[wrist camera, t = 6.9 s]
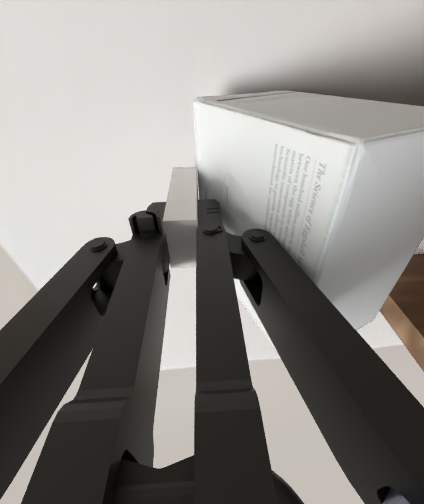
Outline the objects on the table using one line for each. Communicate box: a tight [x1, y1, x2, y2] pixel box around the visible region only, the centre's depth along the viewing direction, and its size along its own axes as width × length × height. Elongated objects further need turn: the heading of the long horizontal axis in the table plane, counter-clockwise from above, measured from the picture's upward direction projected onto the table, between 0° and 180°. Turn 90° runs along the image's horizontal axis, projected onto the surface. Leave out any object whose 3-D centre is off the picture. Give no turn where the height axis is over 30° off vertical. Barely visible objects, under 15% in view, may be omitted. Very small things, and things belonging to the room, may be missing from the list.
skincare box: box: [193, 90, 424, 351], centre depth 13 cm, size 10×6×10 cm, turn 2°
